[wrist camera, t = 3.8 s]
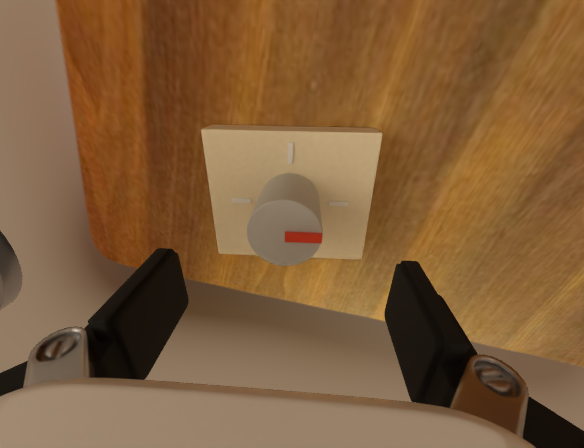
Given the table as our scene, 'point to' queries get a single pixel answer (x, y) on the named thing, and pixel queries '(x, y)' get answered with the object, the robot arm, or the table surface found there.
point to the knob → (286, 221)
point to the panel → (297, 160)
